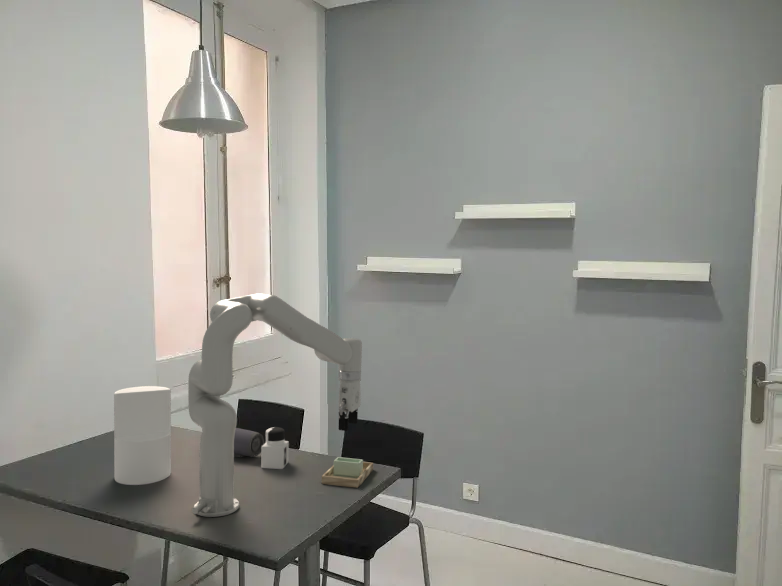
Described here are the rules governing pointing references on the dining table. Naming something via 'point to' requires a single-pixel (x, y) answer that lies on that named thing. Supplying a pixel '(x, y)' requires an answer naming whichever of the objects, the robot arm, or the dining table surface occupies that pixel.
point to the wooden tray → (347, 481)
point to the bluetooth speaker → (247, 443)
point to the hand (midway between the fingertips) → (348, 426)
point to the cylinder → (142, 435)
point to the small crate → (348, 467)
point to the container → (275, 449)
